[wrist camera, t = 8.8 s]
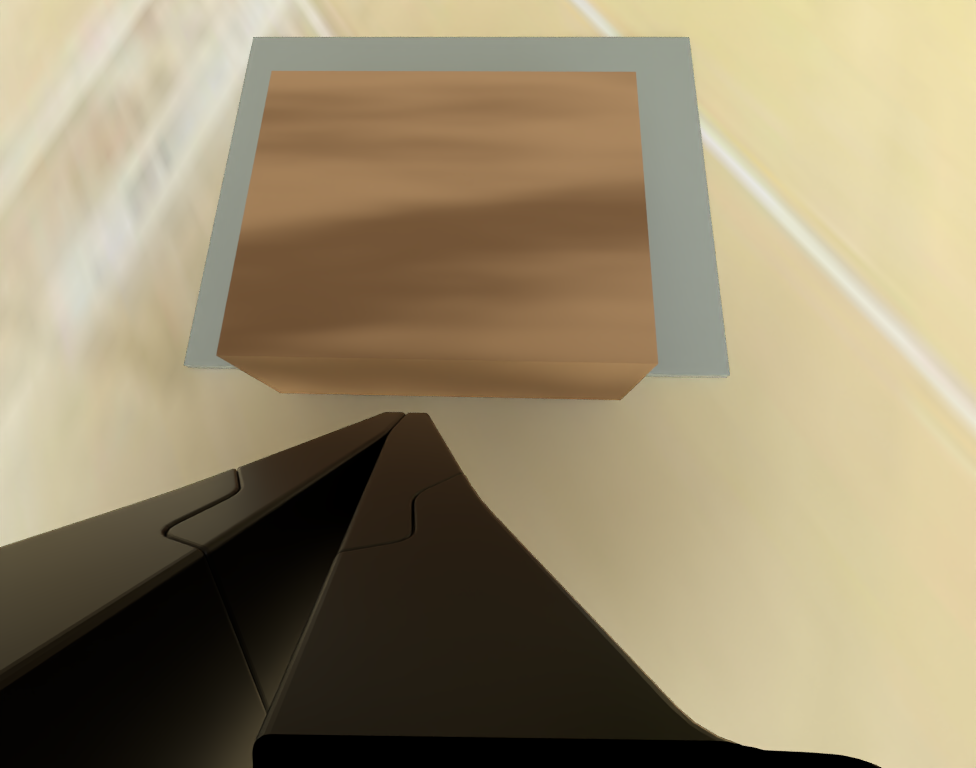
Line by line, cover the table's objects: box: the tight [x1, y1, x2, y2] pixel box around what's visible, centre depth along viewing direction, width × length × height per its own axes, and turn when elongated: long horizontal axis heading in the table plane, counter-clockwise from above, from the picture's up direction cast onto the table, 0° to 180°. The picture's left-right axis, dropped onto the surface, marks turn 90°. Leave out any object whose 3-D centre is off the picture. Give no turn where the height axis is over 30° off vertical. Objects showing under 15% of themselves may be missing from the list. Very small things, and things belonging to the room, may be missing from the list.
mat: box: [184, 37, 730, 377], centre depth 20 cm, size 16×20×1 cm
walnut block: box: [216, 71, 658, 400], centre depth 16 cm, size 4×12×10 cm
